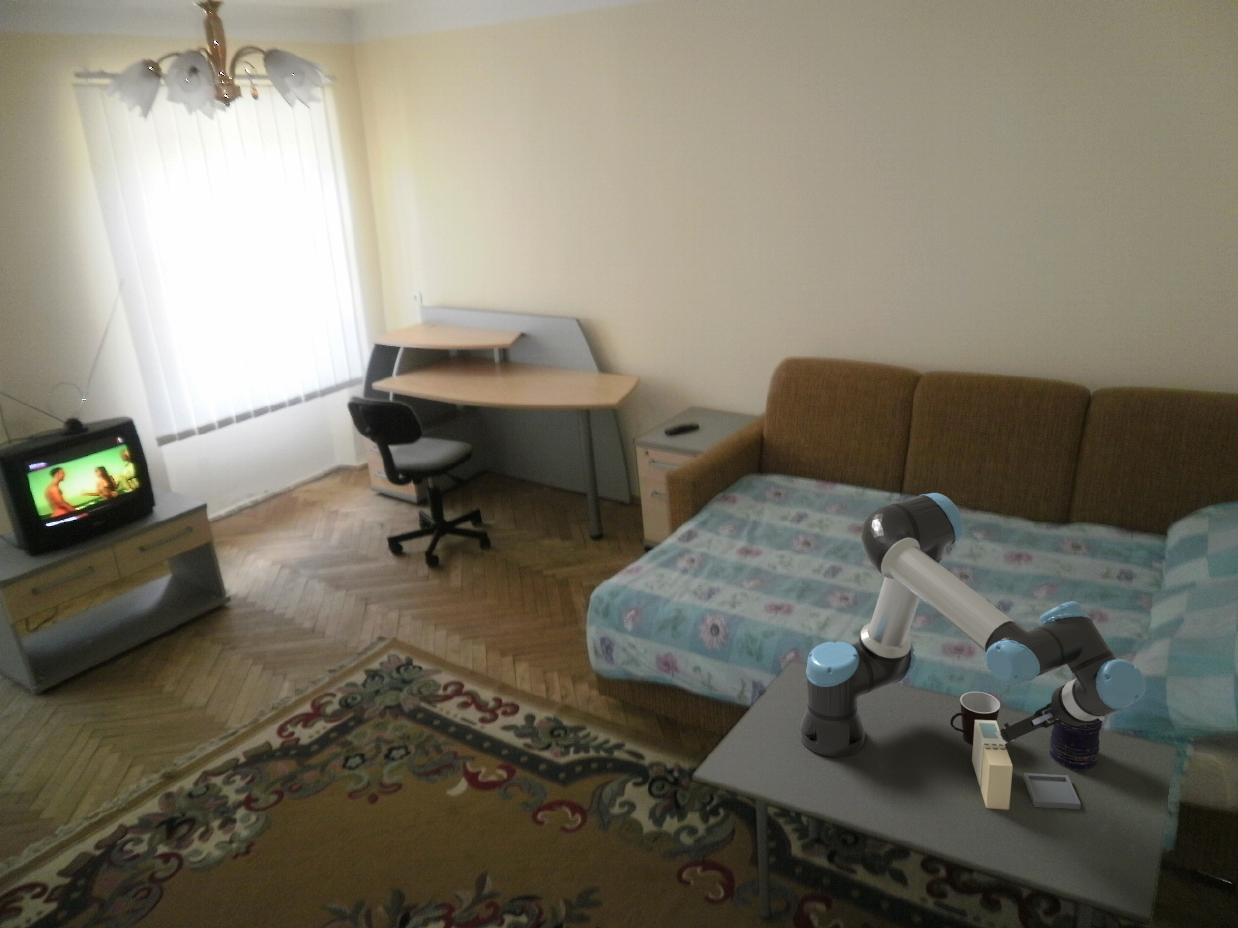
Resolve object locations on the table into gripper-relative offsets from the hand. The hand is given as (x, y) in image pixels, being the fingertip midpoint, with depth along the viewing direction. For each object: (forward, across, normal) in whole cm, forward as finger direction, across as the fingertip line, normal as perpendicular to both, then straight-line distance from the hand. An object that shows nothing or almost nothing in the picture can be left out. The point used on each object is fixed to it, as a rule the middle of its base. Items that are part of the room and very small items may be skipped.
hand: (1027, 725), depth 183 cm
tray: (+15, +5, -14) cm, 21 cm away
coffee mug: (+30, +2, +3) cm, 30 cm away
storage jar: (+22, +18, -10) cm, 30 cm away
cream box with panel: (+21, -3, -5) cm, 22 cm away
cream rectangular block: (+16, -7, -10) cm, 20 cm away
